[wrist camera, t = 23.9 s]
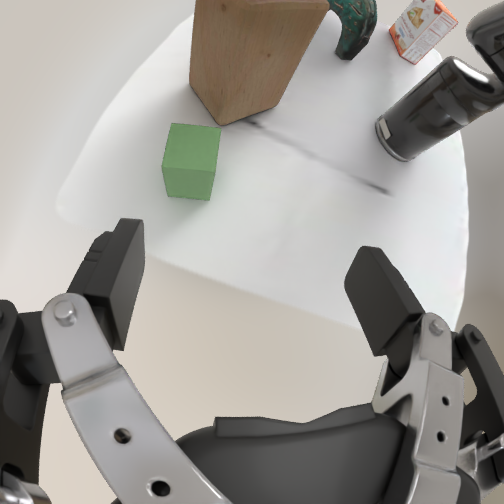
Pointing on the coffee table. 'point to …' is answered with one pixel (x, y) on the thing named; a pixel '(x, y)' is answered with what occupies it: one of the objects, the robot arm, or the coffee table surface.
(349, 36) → the ceramic cat
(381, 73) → the coffee table surface
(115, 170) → the coffee table surface
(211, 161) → the green block
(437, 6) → the cracker box
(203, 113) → the coffee table surface
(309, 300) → the coffee table surface
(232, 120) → the wooden block
